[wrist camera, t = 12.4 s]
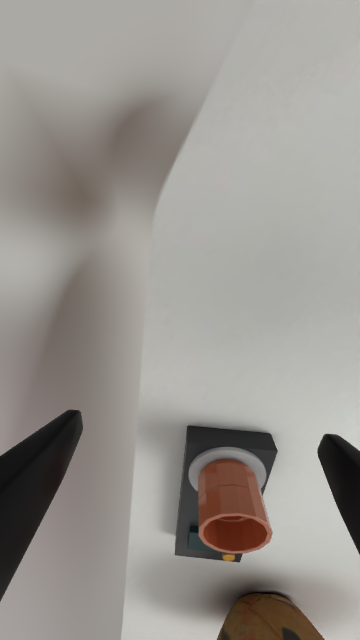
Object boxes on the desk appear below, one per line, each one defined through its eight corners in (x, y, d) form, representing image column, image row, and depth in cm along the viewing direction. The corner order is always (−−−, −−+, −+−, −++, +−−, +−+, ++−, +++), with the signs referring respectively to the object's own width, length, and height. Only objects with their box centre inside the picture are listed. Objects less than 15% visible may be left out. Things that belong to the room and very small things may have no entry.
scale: (187, 425, 22) (186, 448, 20) (270, 433, 22) (280, 457, 20) (175, 536, 30) (174, 561, 28) (236, 542, 30) (240, 569, 28)
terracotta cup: (187, 483, 22) (186, 540, 18) (216, 448, 20) (222, 504, 16) (235, 501, 23) (245, 560, 19) (268, 470, 21) (287, 528, 16)
